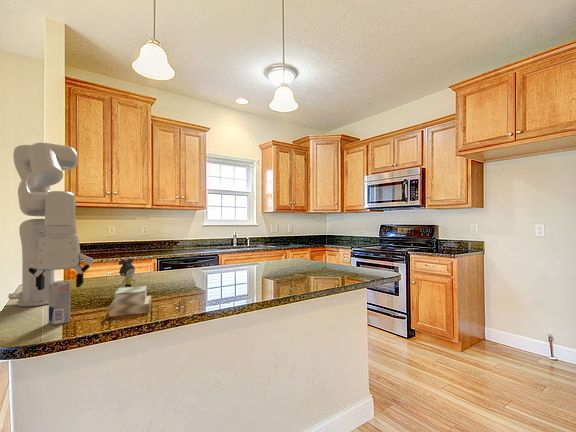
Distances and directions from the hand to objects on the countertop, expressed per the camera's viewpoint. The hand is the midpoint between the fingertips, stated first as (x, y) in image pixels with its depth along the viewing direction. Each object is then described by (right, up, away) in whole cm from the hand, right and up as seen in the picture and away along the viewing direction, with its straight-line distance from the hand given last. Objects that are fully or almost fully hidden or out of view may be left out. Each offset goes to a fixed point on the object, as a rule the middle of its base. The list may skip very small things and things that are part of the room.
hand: (60, 288), depth 95 cm
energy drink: (-1, -11, 0) cm, 11 cm away
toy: (+3, -11, +34) cm, 36 cm away
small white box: (+15, -11, +14) cm, 23 cm away
